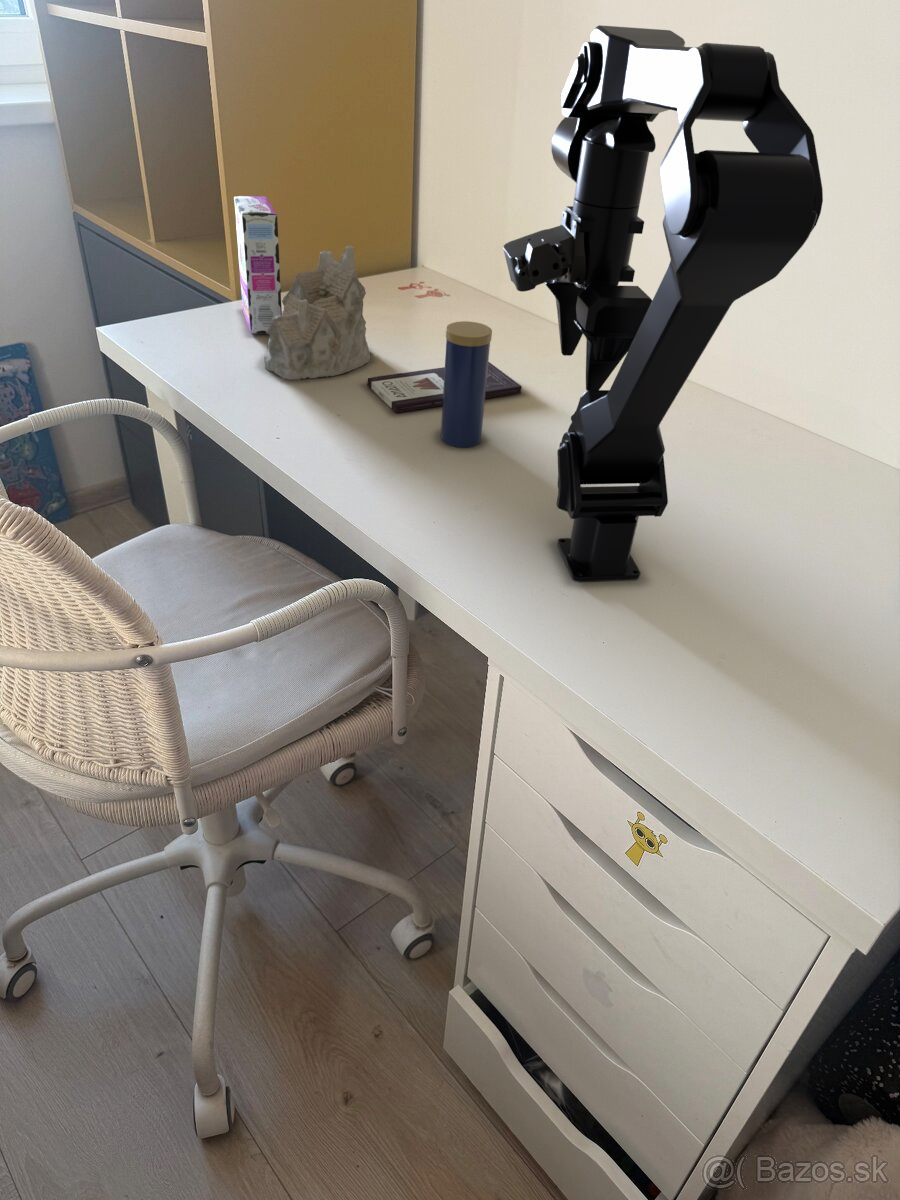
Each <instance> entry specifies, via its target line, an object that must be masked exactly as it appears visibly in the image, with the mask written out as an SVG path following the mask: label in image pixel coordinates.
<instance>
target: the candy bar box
mask: <svg viewBox="0 0 900 1200" xmlns="http://www.w3.org/2000/svg"><path fill="white" fill-rule="evenodd" d="M233 201H234V211H235V227H236V240H237V241H236V242H237V252H238V254H237V255H238V267H239V281H240V293H241V304H242V312H243V314H244V317H245V320H246V323H247V327H248V329H249V333H250V334H251V335H269V334H268V333H266V331H267V329H268V327H269V326H270V325H271V323H272V320H273V319H275V317H276V316H281V315H282V312H283V309H282V288H281V287H282V286H281V266H280V245H279V224H278V213H277V211H276V210H275V209H274V207H273V206H272V203H271V202H270V200H269V198H268V197H267V196H258V195H257V196H256V195H239V196H236V195H235V196H233Z"/></svg>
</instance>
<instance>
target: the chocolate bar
mask: <svg viewBox="0 0 900 1200" xmlns="http://www.w3.org/2000/svg"><path fill="white" fill-rule="evenodd" d="M444 371H445V366H444V367H443V366H442V367H435V368H430V369H421V370H414V371H407V372H406V371H405V372H400V373H393V374H386V375H379V376H371V377H367V386H368V387H369V388H370V389H371V390H372V391H373V392H374V393H375V394H376V395H377V396H378V397H379V398H380V399H381V400H382V401H383V402H384V403H385V404H386V405H387V406H388V407H389V408H390V409H391V410H392V411H393V412H394V413H395V414H399V413H405V412H409V411H418V410H423V409H429V408H436V407H442V404H443V388H444ZM516 394H517V395H518V394H522V384H520V383H518V382H517V381H515V380H514V379H513V378H512V377H510V376H509V375H507V374H506V373H505V372H503V371H502V370H501V369H499V368H498V367H497V366H496V365H494V364H493V363H492V362H490V361H488V371H487V382H486V393H485V400H487V399H493V398H499V397H505V396H512V395H516Z"/></svg>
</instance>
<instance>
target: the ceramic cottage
mask: <svg viewBox="0 0 900 1200" xmlns="http://www.w3.org/2000/svg"><path fill="white" fill-rule="evenodd" d="M354 255H355V247H354V246H352V245H347V246H345V248H344V253H341V254H340V258H339V261H338V260H336V259H335V258H334V254H333V253H332V251H329V250H322V251H321V250H320V252H319V256H318V266H317V268H316V269H313V270H309V271H303V272H299V273H296V276H295V278H294V279H293V282H292V283H291V287H290V288H289V289H288V292H287V293H286V294H285V296H283V299H281V303H282V305H283V310H282V315H281V316H276V317H275V319H273V320H272V323H271V325H270V326H269V327H268V329H267V331H266V333H268V334H267V335H269V338H268V342H267V343H268V344H267V350H268V352H267V354H266V355H264V356H263V368H265V369H266V370H267V371H270V372H271V373H274V374H275V375H276V376H277V375H278V377H280V378H281V379H284V380H288V381H289V380H291V381H293V380H297V381H298V380H301V379H305V380H306V379H307V378H308V379H317V378H322V377H323V378H324V377H326V378H327V377H335V376H339V375H342V374H345V373H349V372H351V371H352V370H357V369H359V368H361V367H362V366H363V367H364V365H367V364H368V363H370V360H371V354H370V348H369V345H368V342H367V338H366V332H367V327H366V324H367V321H366V320H365V318H364V315H363V312H364V299H365V296H366V294H367V292H366V288H365V286H364V285H363V284H362V283H361V282H360V279H359V278H358V276H357V270H356V261H355V257H354Z"/></svg>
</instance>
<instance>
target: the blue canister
mask: <svg viewBox="0 0 900 1200" xmlns="http://www.w3.org/2000/svg"><path fill="white" fill-rule="evenodd" d="M492 336H493V329H492V327H490V326H488V325H487V324H484V323H481V322H475V321H467V320H465V321H462V320H461V321H454V322H451V323H449V324H448V325H446V327H445V339H446V341H445V355H444V367H445V371H444V388H443V404H442V406H441V422H440V423H441V424H440V439H441V441H442V442H443V444H446V445H447V446H450V447H455V448H461V449H463V448H472V447H475V446H478V445H479V444H480V443H481V441H482V434H483V425H484V423H483V422H484V413H485V412H484V411H485V402H486V399H485V393H486V382H487V371H488V362H489V360H490V359H489V358H490V348H491V341H492Z"/></svg>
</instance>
